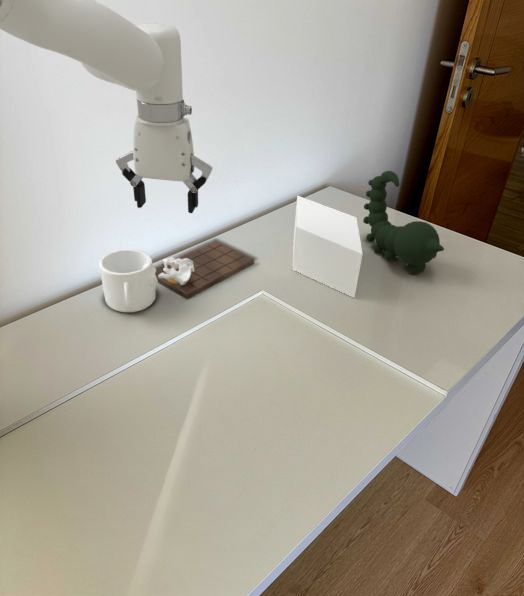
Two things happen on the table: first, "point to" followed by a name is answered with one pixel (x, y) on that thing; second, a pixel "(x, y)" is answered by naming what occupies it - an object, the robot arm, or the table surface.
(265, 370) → the table surface
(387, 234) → the toy figurine
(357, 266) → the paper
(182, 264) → the crumpled tissue wad
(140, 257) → the mug
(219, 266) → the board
